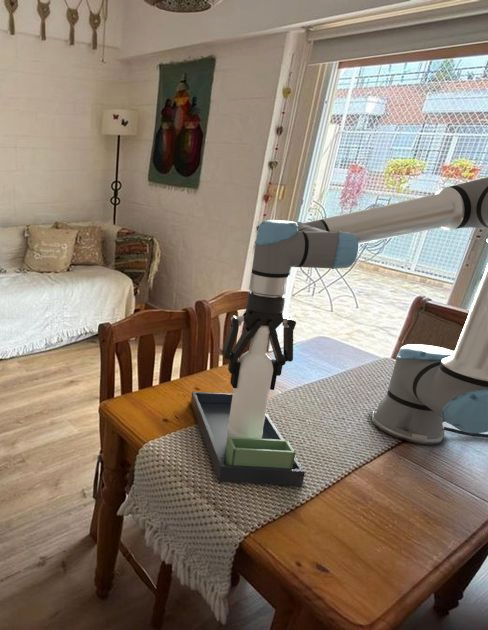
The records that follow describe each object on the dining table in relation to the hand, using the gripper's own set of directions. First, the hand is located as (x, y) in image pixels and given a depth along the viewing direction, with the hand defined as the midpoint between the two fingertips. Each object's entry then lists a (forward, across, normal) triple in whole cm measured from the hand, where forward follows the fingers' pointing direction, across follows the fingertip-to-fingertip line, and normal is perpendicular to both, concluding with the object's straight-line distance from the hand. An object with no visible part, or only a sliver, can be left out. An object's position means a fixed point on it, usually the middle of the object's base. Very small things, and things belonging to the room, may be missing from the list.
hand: (251, 386), depth 103 cm
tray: (+17, 0, -3) cm, 17 cm away
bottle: (+15, 0, 0) cm, 15 cm away
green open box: (+16, 0, +10) cm, 19 cm away
